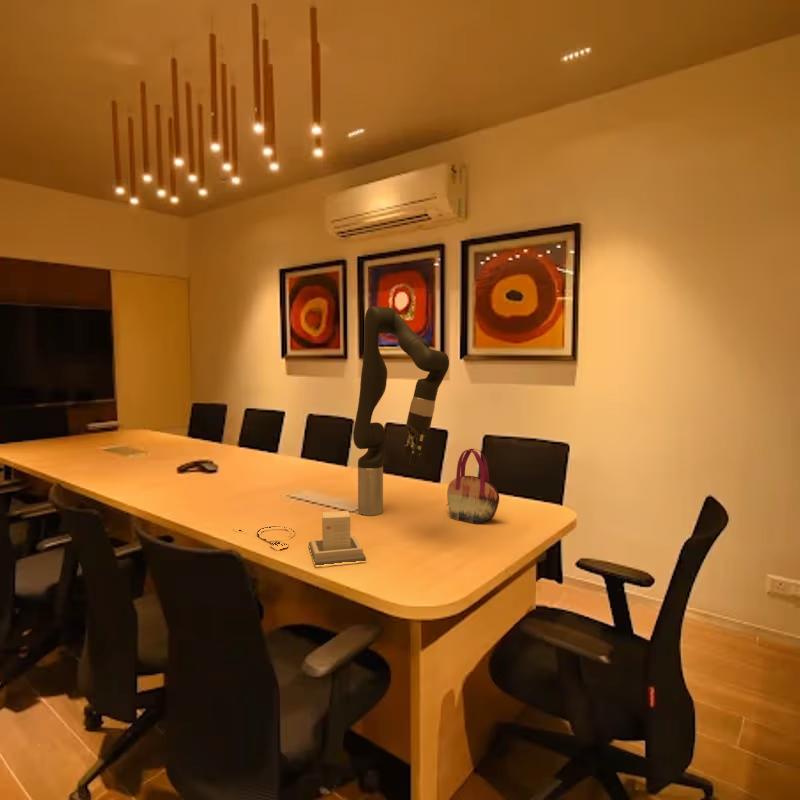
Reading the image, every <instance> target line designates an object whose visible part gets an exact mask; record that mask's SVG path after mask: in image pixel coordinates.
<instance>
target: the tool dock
mask: <svg viewBox="0 0 800 800" xmlns="http://www.w3.org/2000/svg"><path fill="white" fill-rule="evenodd" d="M350 539H351V549H341V550H331V551H323V538H319V539H310V541H309V542H308V547H309V546H310V549H309V551H310V550H311V552H310V554H311V553H312V555H311V557H312V556H313V559H314V562H315V565H324V564H334V563H342V562H356V561H366V562H367V557H366V555H365V553H364V549H363V547H362V546H361V544H360V542H359V540H358V539H357V537H356V535H350ZM313 559H312V560H313ZM314 562H313V563H314ZM315 565H314V566H315Z"/></svg>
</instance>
